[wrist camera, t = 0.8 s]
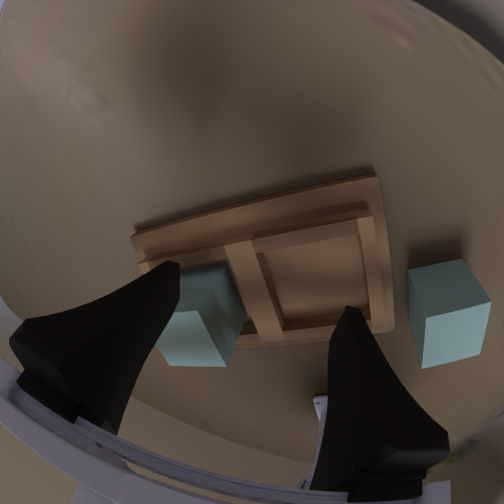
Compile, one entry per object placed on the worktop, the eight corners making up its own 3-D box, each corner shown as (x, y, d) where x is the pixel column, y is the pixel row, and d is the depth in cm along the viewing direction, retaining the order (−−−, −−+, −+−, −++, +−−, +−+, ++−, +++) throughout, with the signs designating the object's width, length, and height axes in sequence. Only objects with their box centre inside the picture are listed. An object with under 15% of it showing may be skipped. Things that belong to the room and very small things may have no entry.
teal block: (458, 306, 21) (479, 354, 15) (408, 318, 22) (421, 368, 17) (461, 258, 19) (491, 301, 14) (407, 269, 20) (426, 318, 15)
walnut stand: (392, 321, 23) (404, 386, 17) (192, 342, 30) (164, 393, 23) (374, 172, 18) (400, 205, 12) (137, 231, 25) (85, 271, 18)
